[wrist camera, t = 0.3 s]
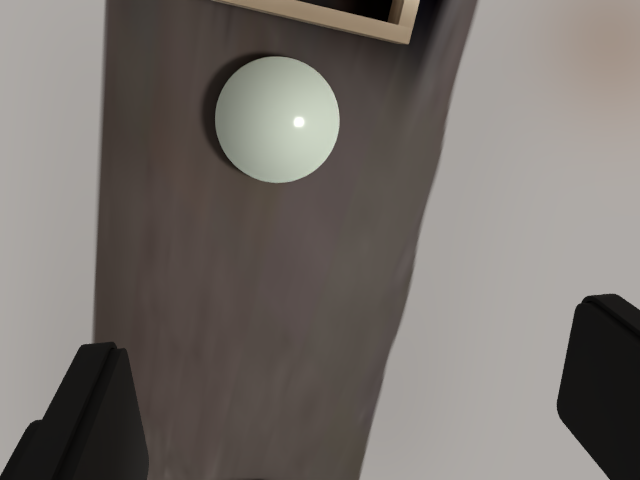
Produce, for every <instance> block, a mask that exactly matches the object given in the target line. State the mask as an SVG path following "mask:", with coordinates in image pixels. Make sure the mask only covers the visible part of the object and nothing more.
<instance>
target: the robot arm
mask: <svg viewBox="0 0 640 480" xmlns="http://www.w3.org/2000/svg"><path fill="white" fill-rule="evenodd" d="M557 411H558V414H559V417H560V419H561V420H562V422H563V423H564V424H565V425H566V427H567V428H568V429H569V430H570V431H571V433H572V434H573V435H574V436H575V438H576V439H577V440H578V441H579V442H580V444H581V445H582V446H583V447H584V449H585V450H586V451H587V452H588V453H589V454H590V456H591V457H592V458H593V459H594V461H595V462H596V463H597V464H598V466H599V467H600V468H601V469H602V470H603V471H604V473H605V474H606V475H607V477H608V478H609V479H610V480H640V310H639V309H637V308H636V307H634V306H633V305H632V304H630V303H629V302H627V301H626V300H625V299H623V298H622V297H620V296H619V295H616V294H603V295H592V296H587V297H585V298H584V299H583V301H582V303H581V304H578V305H577V307H576V309H575V313H574V318H573V323H572V328H571V333H570V338H569V343H568V348H567V353H566V359H565V364H564V369H563V374H562V379H561V384H560V389H559V394H558V399H557ZM148 468H149V457H148V450H147V446H146V441H145V436H144V431H143V426H142V421H141V416H140V411H139V407H138V402H137V397H136V392H135V387H134V382H133V377H132V373H131V368H130V363H129V358H128V354H127V351H126V349H125V348H121V349H117V346H116V344H115V343H114V342H105V343H94V344H84V345H81V347H80V348H79V350H78V351H77V354H76V355H75V357H74V359H73V361H72V363H71V365H70V367H69V369H68V371H67V373H66V375H65V377H64V378H63V380H62V383H61V384H60V386H59V388H58V390H57V392H56V394H55V396H54V398H53V400H52V401H51V403H50V405H49V408H48V409H47V411H46V413H45V415H44V417H43V419H42V420H35V421H34V422H32V423H30V425H29V426H28V427H27V429H26V430H25V432H24V434H23V436H22V437H21V439H20V441H19V443H18V445H17V447H16V448H15V450H14V452H13V454H12V456H11V457H10V459H9V461H8V463H7V465H6V467H5V469H4V470H3V472H2V474H1V476H0V480H147V475H148Z"/></svg>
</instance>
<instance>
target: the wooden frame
mask: <svg viewBox="0 0 640 480" xmlns="http://www.w3.org/2000/svg"><path fill="white" fill-rule="evenodd" d="M211 1H216V2H220V3H224V4H228V5H233V6H237V7H241V8H246V9H250V10H254V11H259V12H263V13H267V14H271V15H276V16H280V17H284V18H289V19H293V20H297V21H302V22H306V23H310V24H314V25H319V26H323V27H327V28H332V29H336V30H340V31H345V32H349V33H353V34H357V35H362V36H366V37H370V38H375V39H379V40H383V41H388V42H392V43H396V44H409V41H410V37H411V33H412V29H413V25H414V21H415V17H416V13H417V9H418V5H419V1H420V0H392V5H391V9H390V13H389V18H388V22H384V21H379V20H375V19H371V18H367V17H363V16H359V15H355V14H350V13H346V12H342V11H338V10H334V9H330V8H325V7H321V6H317V5H313V4H309V3H305V2H301V1H296V0H211Z"/></svg>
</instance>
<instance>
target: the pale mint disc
mask: <svg viewBox="0 0 640 480" xmlns="http://www.w3.org/2000/svg"><path fill="white" fill-rule="evenodd" d="M215 126H216V132H217V137H218V140H219V142H220V145H221V147H222V149H223V151H224V152H225V154H226V155H227V157H228V158H229V160H230V161H231V162H232V163H233V164H234V165H235V166H236V167H237V168H238V169H240V170H241V171H242V172H244V173H245V174H247V175H249V176H251V177H253V178H256V179H258V180H262V181H266V182H274V183H283V182H290V181H294V180H297V179H300V178H302V177H305V176H307V175H308V174H310V173H312V172H313V171H314V170H316V169H317V168H318V167H319V166H320V165H321V164H322V163H323V162H324V161H325V160H326V158H327V157H328V156H329V154H330V153H331V151H332V149H333V147H334V145H335V142H336V139H337V135H338V130H339V110H338V105H337V101H336V99H335V96H334V93H333V92H332V90H331V88H330V86H329V85H328V83H327V82H326V80H325V79H324V78H323V77H322V76H321V75H320V74H319V73H318V72H317V71H315V70H314V69H313V68H311V67H310V66H308V65H307V64H305V63H303V62H300V61H298V60H296V59H292V58H289V57H282V56H269V57H263V58H259V59H256V60H253V61H251V62H249V63H247V64H245V65H244V66H242V67H241V68H239V69H238V70H237V71H236V72H235V73H234V74H233V75H232V76H231V77H230V78H229V79H228V81H227V82H226V84H225V85H224V87H223V89H222V91H221V93H220V96H219V99H218V102H217V106H216V112H215Z"/></svg>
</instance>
